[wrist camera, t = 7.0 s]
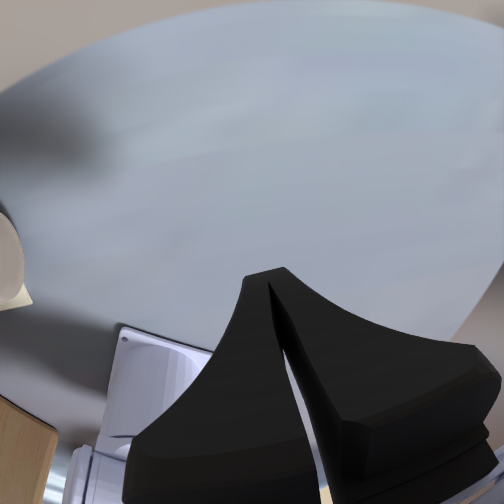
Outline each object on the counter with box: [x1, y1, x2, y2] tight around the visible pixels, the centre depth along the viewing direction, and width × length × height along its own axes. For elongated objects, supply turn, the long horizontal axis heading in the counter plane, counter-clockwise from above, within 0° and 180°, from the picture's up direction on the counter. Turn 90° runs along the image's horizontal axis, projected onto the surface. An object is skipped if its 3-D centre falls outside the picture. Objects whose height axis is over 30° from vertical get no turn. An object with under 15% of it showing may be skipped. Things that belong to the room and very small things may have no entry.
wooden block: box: [0, 396, 59, 504], centre depth 18 cm, size 10×10×20 cm
